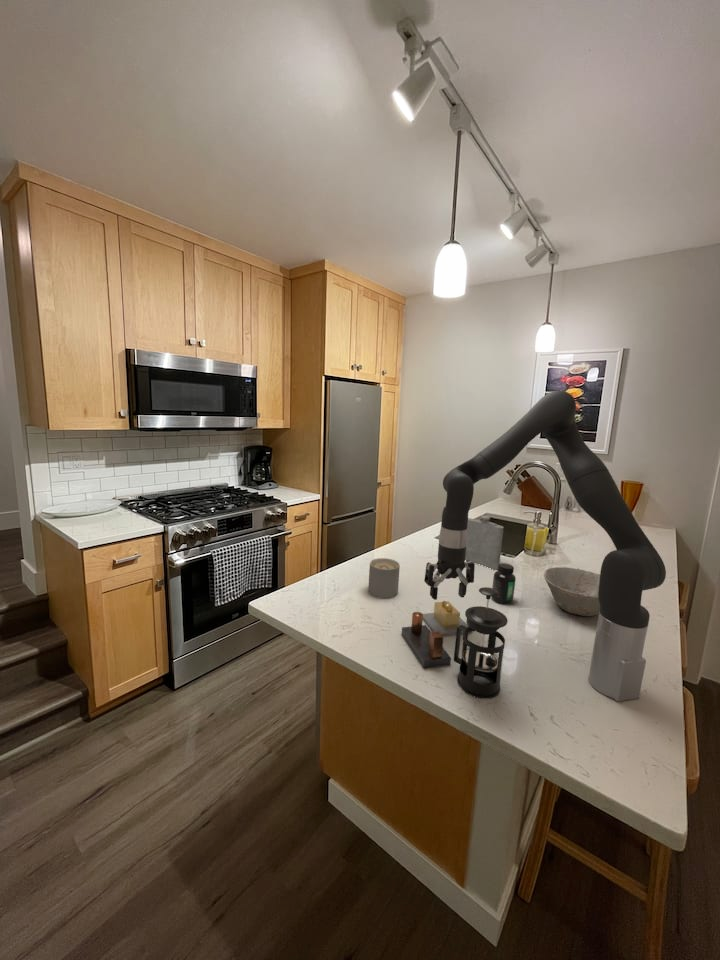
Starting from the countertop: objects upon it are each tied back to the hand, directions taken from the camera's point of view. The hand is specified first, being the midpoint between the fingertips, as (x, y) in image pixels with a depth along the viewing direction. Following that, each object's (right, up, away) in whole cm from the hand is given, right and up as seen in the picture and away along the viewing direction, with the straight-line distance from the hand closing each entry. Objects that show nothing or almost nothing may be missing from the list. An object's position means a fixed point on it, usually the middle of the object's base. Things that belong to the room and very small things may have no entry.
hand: (447, 597), depth 116 cm
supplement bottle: (+22, -7, +19) cm, 30 cm away
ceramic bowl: (+45, -9, +15) cm, 48 cm away
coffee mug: (-16, -4, +22) cm, 28 cm away
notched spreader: (+24, -1, +50) cm, 56 cm away
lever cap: (0, -8, +2) cm, 8 cm away
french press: (+2, -13, -23) cm, 26 cm away
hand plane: (-8, -10, -10) cm, 17 cm away
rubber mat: (0, -8, +2) cm, 9 cm away
